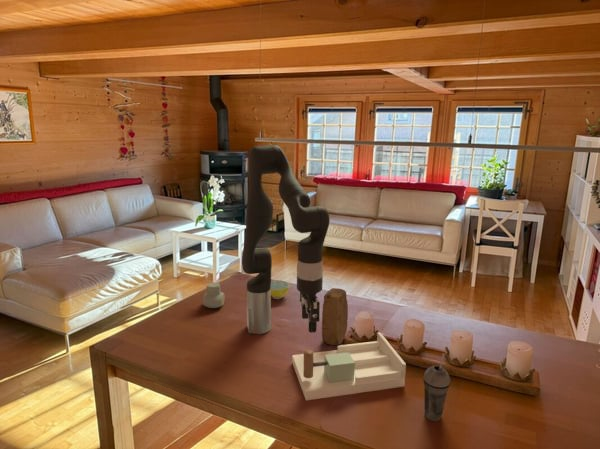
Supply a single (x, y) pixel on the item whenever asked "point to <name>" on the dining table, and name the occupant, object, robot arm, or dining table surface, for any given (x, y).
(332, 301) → the brown tall faceted piece
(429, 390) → the beverage cup
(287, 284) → the bowl
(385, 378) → the shelf
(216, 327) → the dining table surface
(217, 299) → the air freshener
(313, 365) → the pull block
